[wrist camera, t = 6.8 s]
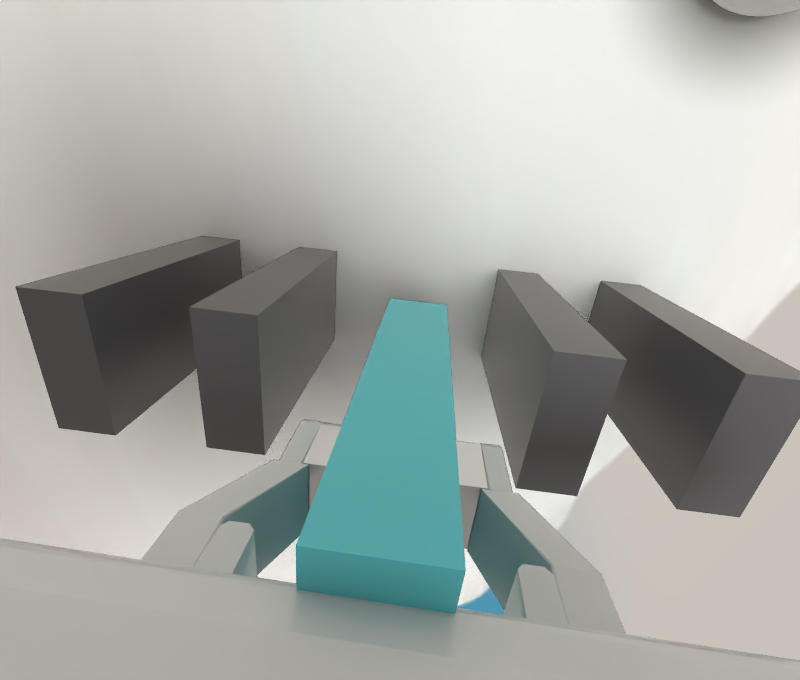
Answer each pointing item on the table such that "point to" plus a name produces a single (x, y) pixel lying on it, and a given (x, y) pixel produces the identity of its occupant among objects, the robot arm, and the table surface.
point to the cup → (759, 6)
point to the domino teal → (392, 476)
